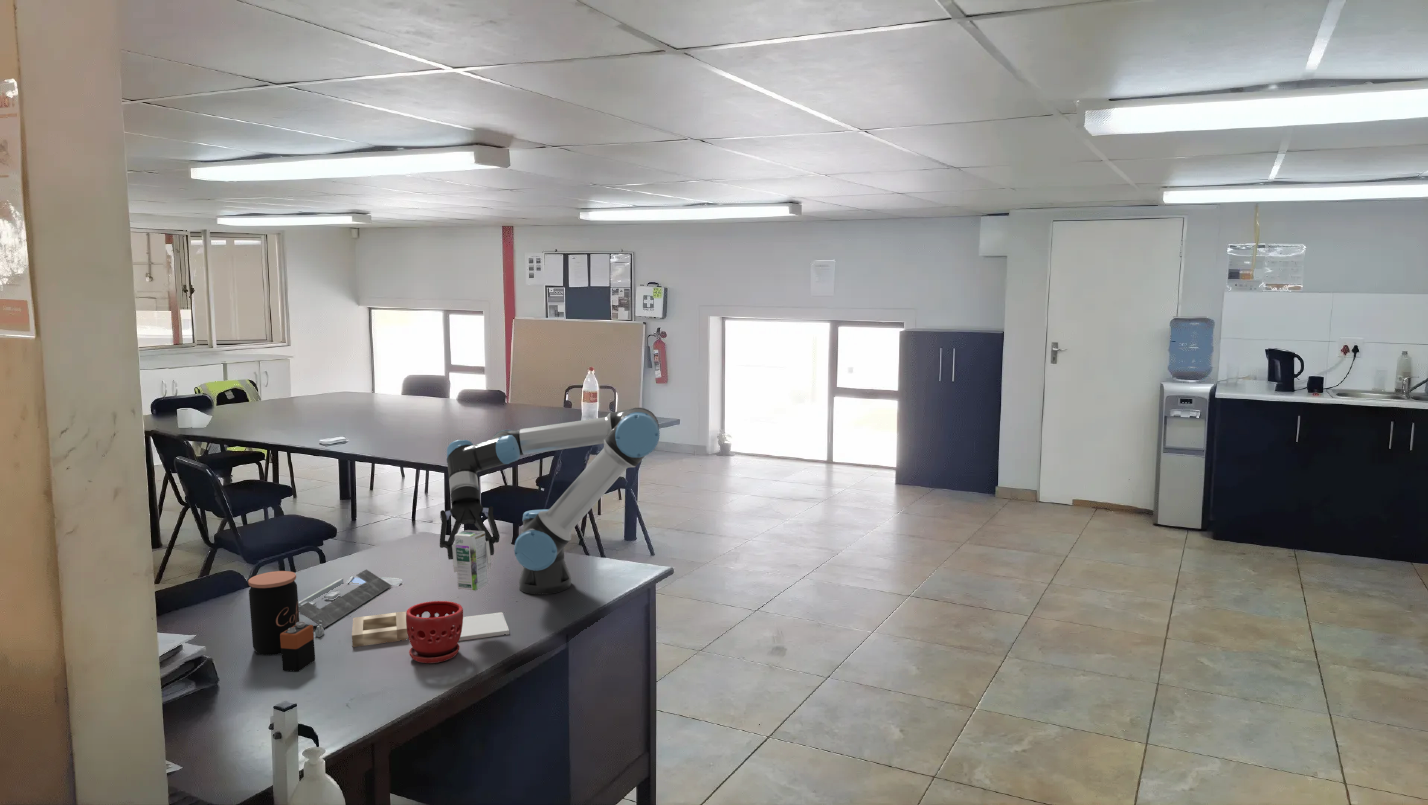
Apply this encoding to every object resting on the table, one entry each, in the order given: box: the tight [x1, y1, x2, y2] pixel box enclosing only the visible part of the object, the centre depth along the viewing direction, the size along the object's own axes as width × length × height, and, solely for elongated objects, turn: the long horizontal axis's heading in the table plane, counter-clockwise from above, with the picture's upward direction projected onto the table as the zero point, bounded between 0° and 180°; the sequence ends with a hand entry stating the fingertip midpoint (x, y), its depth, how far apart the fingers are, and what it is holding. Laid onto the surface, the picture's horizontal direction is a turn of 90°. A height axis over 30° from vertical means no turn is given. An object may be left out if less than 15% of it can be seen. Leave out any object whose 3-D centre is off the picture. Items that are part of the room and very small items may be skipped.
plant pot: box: [406, 600, 464, 664], centre depth 218 cm, size 13×13×12 cm
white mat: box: [458, 611, 510, 642], centre depth 236 cm, size 14×14×1 cm
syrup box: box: [454, 529, 489, 592], centre depth 234 cm, size 6×6×14 cm
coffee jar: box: [247, 570, 300, 656], centre depth 223 cm, size 11×11×18 cm
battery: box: [280, 620, 316, 673], centre depth 213 cm, size 4×7×10 cm, turn 169°
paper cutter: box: [298, 569, 403, 638], centre depth 254 cm, size 18×45×6 cm, turn 170°
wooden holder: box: [351, 610, 409, 648], centre depth 232 cm, size 13×13×3 cm
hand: (472, 567), depth 231 cm, fingers closed on syrup box, 8 cm apart
